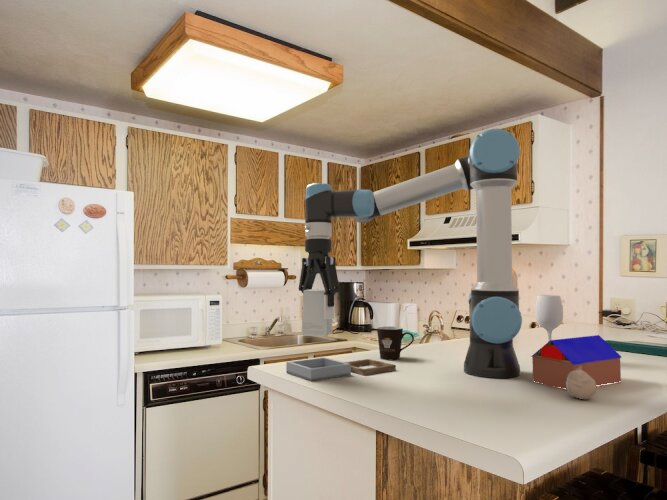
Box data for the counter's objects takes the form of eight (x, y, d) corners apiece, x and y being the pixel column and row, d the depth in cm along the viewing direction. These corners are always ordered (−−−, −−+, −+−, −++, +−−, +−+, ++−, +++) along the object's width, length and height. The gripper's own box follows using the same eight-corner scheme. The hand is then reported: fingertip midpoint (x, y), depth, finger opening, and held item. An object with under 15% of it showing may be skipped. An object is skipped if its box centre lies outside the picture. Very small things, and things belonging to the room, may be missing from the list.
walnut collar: (395, 370, 137) (395, 365, 137) (363, 375, 130) (363, 369, 130) (369, 363, 146) (369, 358, 146) (338, 368, 140) (338, 363, 140)
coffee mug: (371, 358, 156) (371, 327, 157) (388, 355, 162) (388, 325, 162) (398, 363, 148) (398, 330, 148) (415, 359, 153) (415, 328, 154)
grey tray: (350, 374, 130) (350, 364, 130) (310, 381, 123) (310, 369, 123) (324, 367, 141) (324, 357, 141) (286, 372, 133) (286, 361, 134)
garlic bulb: (559, 397, 107) (558, 361, 107) (576, 393, 110) (575, 359, 110) (587, 404, 101) (586, 366, 102) (604, 400, 104) (603, 363, 105)
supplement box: (326, 337, 128) (328, 291, 129) (300, 335, 130) (302, 289, 130) (332, 333, 135) (334, 289, 136) (307, 332, 137) (309, 288, 137)
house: (623, 383, 121) (621, 337, 122) (574, 393, 112) (572, 343, 112) (579, 374, 132) (578, 332, 132) (531, 382, 122) (530, 337, 123)
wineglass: (570, 363, 146) (568, 295, 147) (542, 363, 146) (540, 295, 147) (557, 358, 155) (556, 294, 156) (531, 358, 155) (529, 294, 156)
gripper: (287, 240, 141) (286, 314, 140) (330, 235, 122) (329, 321, 121) (308, 241, 145) (308, 313, 144) (353, 236, 127) (353, 319, 126)
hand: (318, 317), depth 133 cm, fingers closed on supplement box, 10 cm apart
